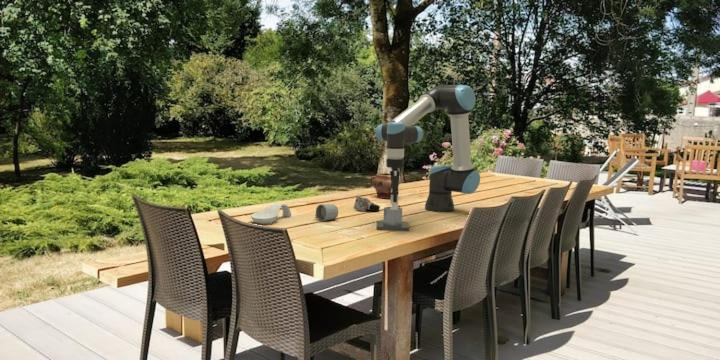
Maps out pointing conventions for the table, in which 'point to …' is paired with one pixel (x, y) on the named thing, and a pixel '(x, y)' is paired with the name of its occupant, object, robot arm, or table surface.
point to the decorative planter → (382, 185)
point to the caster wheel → (365, 204)
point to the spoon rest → (270, 214)
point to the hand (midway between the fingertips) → (394, 206)
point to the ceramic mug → (326, 212)
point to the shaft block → (395, 228)
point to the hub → (392, 217)
